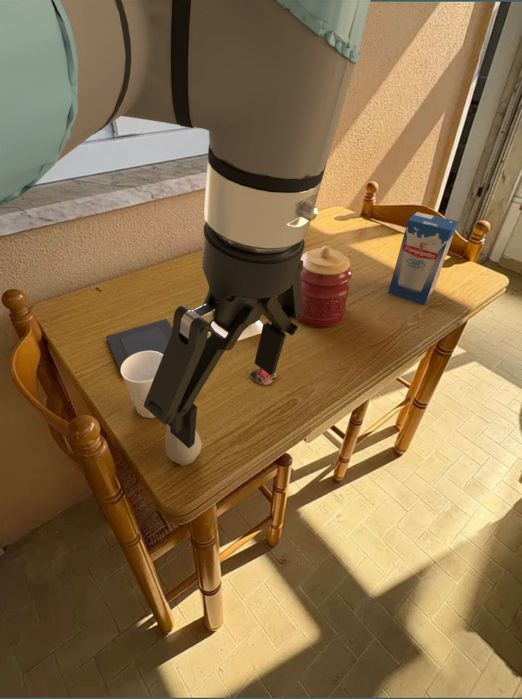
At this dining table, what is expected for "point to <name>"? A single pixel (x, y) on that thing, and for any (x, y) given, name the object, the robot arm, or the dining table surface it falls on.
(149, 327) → the rubber pad
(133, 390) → the white cup
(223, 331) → the napkin holder
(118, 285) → the dining table surface
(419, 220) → the milk carton
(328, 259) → the kitchen canister
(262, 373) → the matchbox
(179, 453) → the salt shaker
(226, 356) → the dining table surface
